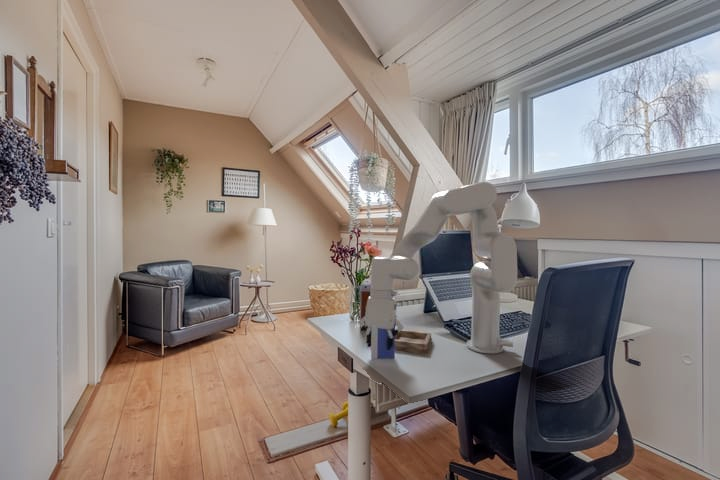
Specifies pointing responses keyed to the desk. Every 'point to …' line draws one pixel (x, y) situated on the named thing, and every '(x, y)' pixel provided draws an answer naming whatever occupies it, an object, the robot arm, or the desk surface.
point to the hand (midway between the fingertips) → (379, 346)
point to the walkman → (381, 343)
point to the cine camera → (364, 297)
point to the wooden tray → (413, 341)
